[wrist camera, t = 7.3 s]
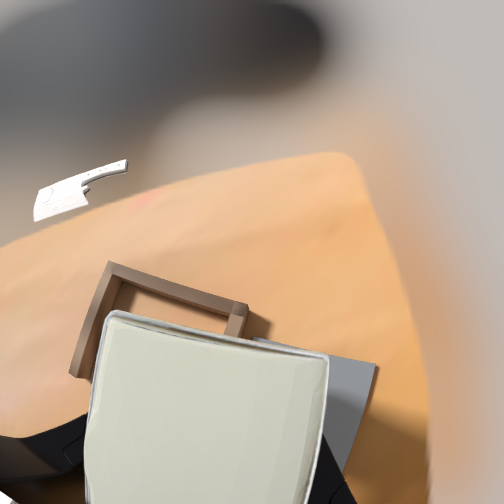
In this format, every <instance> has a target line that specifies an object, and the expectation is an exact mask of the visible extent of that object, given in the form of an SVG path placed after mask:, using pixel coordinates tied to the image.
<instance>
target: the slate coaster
mask: <svg viewBox="0 0 504 504" xmlns="http://www.w3.org/2000/svg"><path fill="white" fill-rule="evenodd" d="M253 341H257V342H262V343H267V344H272V345H278V346H283V347H289V348H295V349H301V348H297V347H293V346H289V345H285V344H281V343H277V342H273V341H270V340H266V339H262V338H258V337H255V336H254V338H253ZM302 350H306V349H302ZM309 351H310V350H309ZM327 355H328V354H327ZM329 357H330V359H331V366H330V376H329V386H328V395H327V405H326V414H325V419H324V426H323V434H324V436H325V438H326V440H327V442H328V445H329V447H330V449H331V451H332V453H333V455H334V457H335V460H336V462H337V464H338V466H339V468H340V470H341V472H343V470H344V467H345V465H346V462H347V459H348V457H349V454H350V451H351V449H352V446H353V443H354V440H355V437H356V434H357V431H358V428H359V425H360V422H361V419H362V415H363V412H364V409H365V405H366V401H367V398H368V394H369V390H370V386H371V382H372V378H373V374H374V370H375V365H376V364H374V363H368V362H363V361H357V360H352V359H347V358H342V357H337V356H332V355H329Z"/></svg>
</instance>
